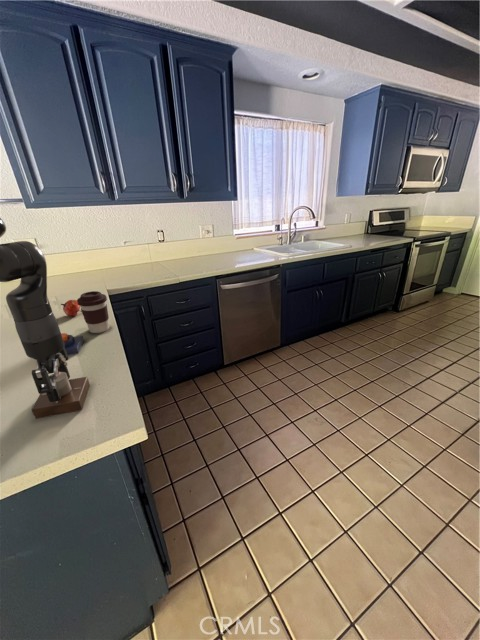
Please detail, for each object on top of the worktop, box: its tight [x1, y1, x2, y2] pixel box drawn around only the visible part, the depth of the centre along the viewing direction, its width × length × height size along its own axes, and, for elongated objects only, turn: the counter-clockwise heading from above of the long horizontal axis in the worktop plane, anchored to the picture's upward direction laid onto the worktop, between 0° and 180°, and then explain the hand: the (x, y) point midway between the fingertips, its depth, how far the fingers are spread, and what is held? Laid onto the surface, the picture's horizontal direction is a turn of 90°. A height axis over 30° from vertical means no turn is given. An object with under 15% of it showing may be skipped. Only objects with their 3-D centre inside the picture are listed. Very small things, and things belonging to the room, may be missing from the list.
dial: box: [49, 371, 71, 397], centre depth 66 cm, size 4×4×5 cm
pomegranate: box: [60, 299, 82, 318], centre depth 117 cm, size 7×7×10 cm
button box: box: [62, 334, 85, 357], centre depth 91 cm, size 10×9×4 cm
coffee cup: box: [76, 290, 110, 334], centre depth 102 cm, size 10×10×15 cm
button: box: [61, 332, 68, 341], centre depth 90 cm, size 4×4×2 cm
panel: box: [31, 376, 91, 420], centre depth 68 cm, size 10×10×3 cm
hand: (60, 389), depth 67 cm, fingers open, 8 cm apart
